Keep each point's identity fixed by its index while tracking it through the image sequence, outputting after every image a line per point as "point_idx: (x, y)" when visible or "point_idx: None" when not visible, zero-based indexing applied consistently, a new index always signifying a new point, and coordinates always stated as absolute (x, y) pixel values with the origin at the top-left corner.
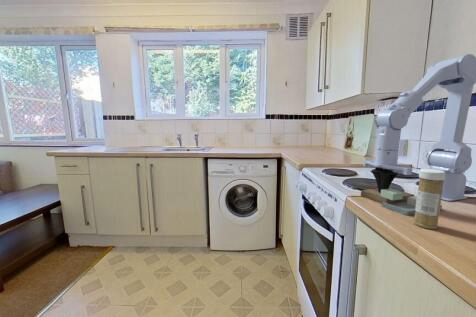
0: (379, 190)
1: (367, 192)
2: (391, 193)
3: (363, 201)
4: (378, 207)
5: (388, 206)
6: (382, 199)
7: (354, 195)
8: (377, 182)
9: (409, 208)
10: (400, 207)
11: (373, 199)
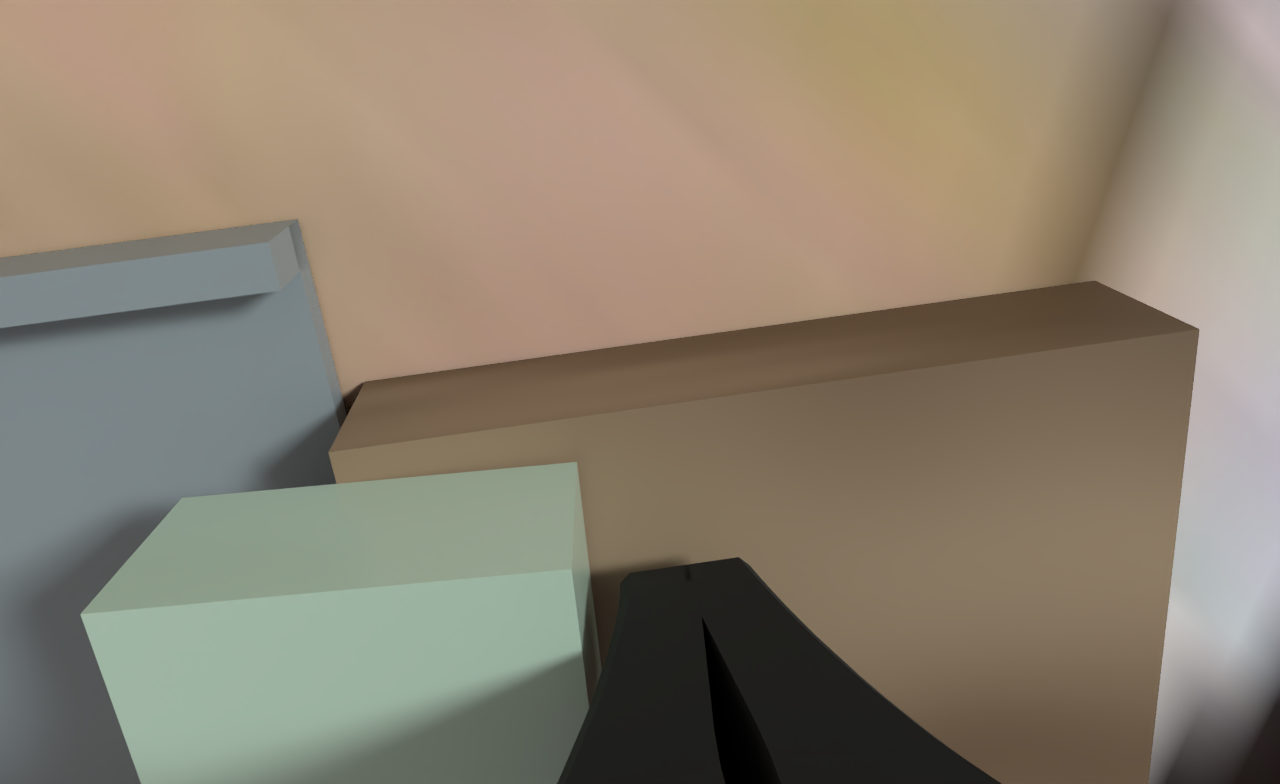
0: (710, 587)
1: (966, 357)
2: (153, 600)
3: (718, 8)
4: (216, 50)
5: (88, 253)
6: (461, 412)
7: (1197, 149)
8: (857, 724)
9: (15, 656)
10: (79, 522)
11: (718, 345)
